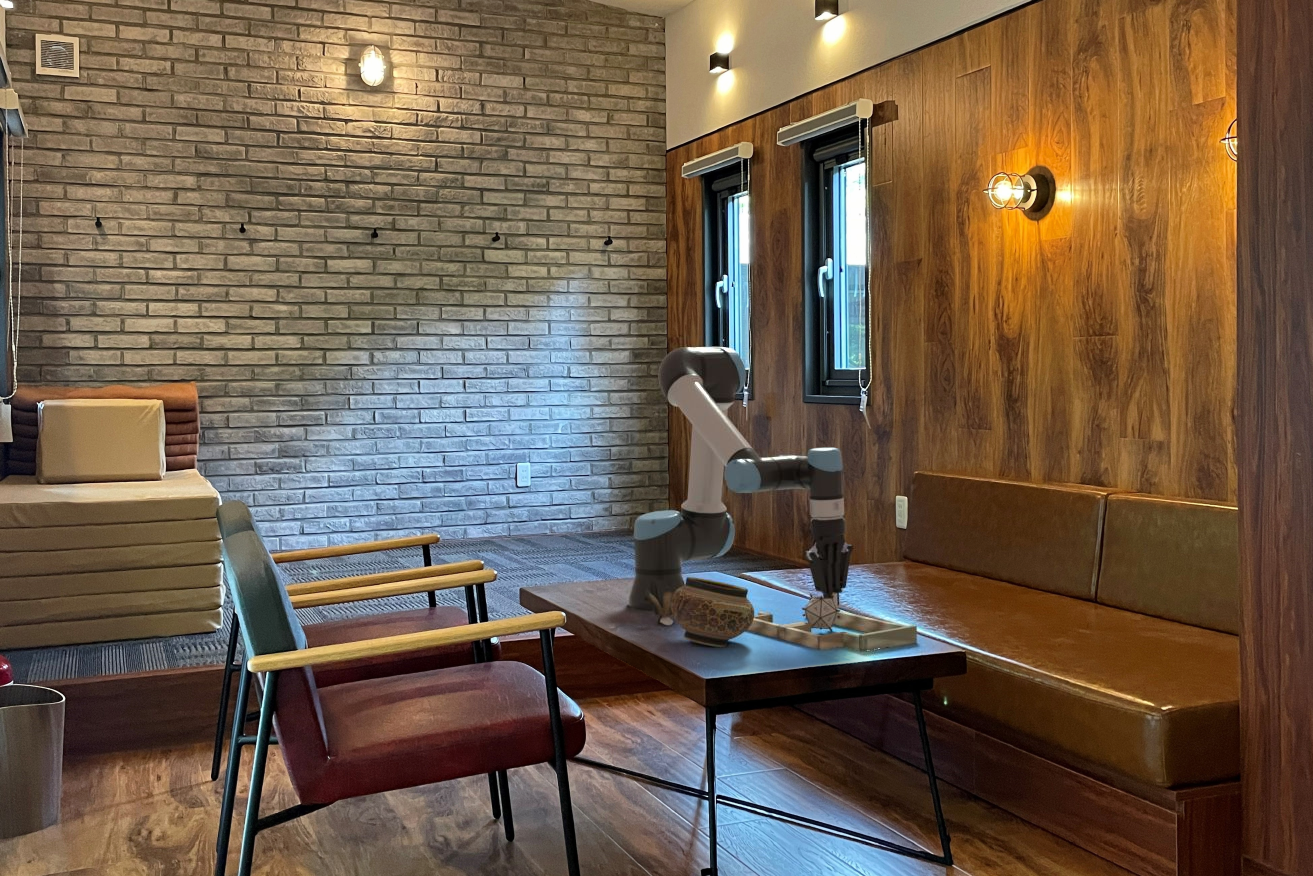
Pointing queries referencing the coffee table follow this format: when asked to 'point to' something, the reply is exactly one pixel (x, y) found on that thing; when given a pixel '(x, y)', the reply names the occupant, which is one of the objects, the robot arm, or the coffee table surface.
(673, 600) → the ceramic bowl
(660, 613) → the tan upright piece
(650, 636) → the coffee table surface
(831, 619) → the game die
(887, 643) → the brown wall maze
